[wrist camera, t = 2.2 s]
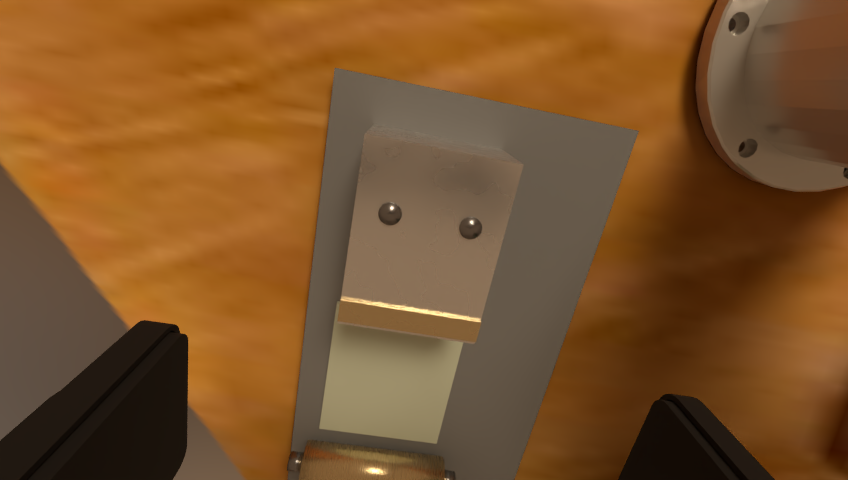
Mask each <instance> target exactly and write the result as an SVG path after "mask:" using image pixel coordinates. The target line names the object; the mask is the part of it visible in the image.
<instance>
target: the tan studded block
mask: <svg viewBox="0 0 848 480" xmlns="http://www.w3.org/2000/svg"><path fill="white" fill-rule="evenodd" d="M523 165H524V164H522V163H521V162H519V161H518V160H516V159H515V158H514V157H512V156H511V155H509V154H508V153H507V152H505V151H504V150H502V149H498V148H493V147H488V146H483V145H477V144H472V143H467V142H462V141H457V140H452V139H447V138H442V137H437V136H432V135H427V134H422V133H417V132H412V131H406V130H401V129H396V128H391V127H386V126H381V125H376V124H373V125H372V127H371V128H370V129H369V130H368V131H367V132H366V133H365V135H364V142H363V149H362V156H361V163H360V170H359V176H358V183H357V190H356V197H355V204H354V211H353V218H352V225H351V232H350V239H349V246H348V253H347V260H346V267H345V274H344V281H343V288H342V295H341V300H340V306H339V313H338V320H337V321H338V322H337V323H339V324H346V325H352V326H359V327H365V328H372V329H378V330H385V331H391V332H398V333H405V334H411V335H418V336H424V337H431V338H437V339H444V340H450V341H457V342H464V343H470V344H475V342H476V340H477V337H478V333H479V330H480V326H481V318H482V315H483V311H484V307H485V304H486V300H487V296H488V293H489V289H490V285H491V282H492V278H493V275H494V271H495V267H496V264H497V260H498V256H499V253H500V249H501V245H502V242H503V238H504V235H505V231H506V227H507V224H508V220H509V216H510V213H511V209H512V205H513V202H514V198H515V194H516V191H517V187H518V184H519V180H520V176H521V173H522V169H523Z"/></svg>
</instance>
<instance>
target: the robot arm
mask: <svg viewBox="0 0 848 480" xmlns="http://www.w3.org/2000/svg"><path fill="white" fill-rule="evenodd" d="M728 26H729V27H728ZM695 88H696V97H697V106H698V113H699V116H700V119H701V122H702V126H703V129H704V132H705V135H706V137H707V138H708V140H709V141H710V143H711V145H712V146H713V148H714V150H715V151H716V153H717V154H718V155H719V156H720V157H721V158H722V159H723V160H724V161H725V162H726V163H727V164H728V165H729V166H730V167H731V168H732V169H733V170H735V171H736V172H738V173H740V174H741V175H743V176H745V177H746V178H748V179H750V180H752V181H755V182H758V183H761V184H764V185H767V186H770V187H774V188H779V189H784V190H789V191H794V192H820V191H826V190H831V189H836V188H842V187H846V186H848V0H717V3H716V5H715V7H714V10H713V12H712V14H711V17H710V19H709V21H708V24H707V26H706V29H705V32H704V36H703V40H702V44H701V48H700V52H699V56H698V60H697V73H696V86H695ZM187 398H188V337H187V335H185V334H180V331H179V328H178V326H177V325H174V324H167V323H160V322H153V321H146V320H144V321H140V322H139V323H137V324H136V325H135V326H134V327H132V328H131V329H130V330H129V331H128V332H127V333H126V334H125V335H123V336H122V337H121V338H120V339H119V340H118V341H117V342H116V343H114V344H113V345H112V346H111V347H110V348H109V349H107V350H106V351H105V352H104V353H103V354H102V355H101V356H99V357H98V358H97V359H96V360H95V361H94V362H93V363H91V364H90V365H89V366H88V367H87V368H86V369H85V370H84V371H82V372H81V373H80V374H79V375H78V376H77V377H76V378H74V379H73V380H72V381H71V382H70V383H69V384H68V385H66V386H65V387H64V388H63V389H62V390H61V391H59V392H57V393H56V394H55V395H53V396H52V397H50V398H49V399H48V400H46V401H45V402H44V403H43V404H42V405H41V406H40V407H38V408H37V409H36V410H35V411H34V412H33V413H32V414H30V415H29V416H28V417H27V418H26V419H25V420H23V421H22V422H21V423H20V424H19V425H18V426H17V427H15V428H14V429H13V430H12V431H11V432H10V433H9V434H8V435H6V436H5V437H4V438H3V439H2V440H1V441H0V480H173V478H174V476H175V475H176V473H177V471H178V469H179V468H180V466H181V464H182V462H183V459H184V456H185V453H186V448H187ZM618 480H775V479H774V478H773V477H772V476H771V475H770V474H769V473H768V472H767V471H766V470H765V469H764V468H763V467H762V466H761V464H760V463H759V462H758V461H757V460H756V459H755V458H754V457H753V456H752V455H751V454H750V453H749V452H748V451H747V450H746V449H745V447H744V446H743V445H742V444H741V443H740V442H739V441H738V440H737V439H736V438H735V437H734V436H733V435H732V434H731V433H730V432H729V431H728V429H727V428H726V427H725V426H724V425H723V424H722V423H721V422H720V421H719V420H718V419H717V418H716V417H715V416H714V415H713V414H712V412H711V411H710V410H709V409H708V408H707V407H706V406H705V405H704V404H703V403H702V402H701V401H700V400H698V399H697V398H694V397H688V396H681V395H674V394H665V395H663V396H662V397H661V398H660V399H659V400H657V401H655V402H654V403H653V405H652V407H651V409H650V411H649V413H648V415H647V418H646V420H645V422H644V424H643V426H642V428H641V431H640V433H639V435H638V437H637V439H636V442H635V444H634V446H633V448H632V450H631V452H630V455H629V457H628V459H627V461H626V463H625V465H624V468H623V470H622V472H621V474H620V476H619V479H618Z"/></svg>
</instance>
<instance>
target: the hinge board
mask: <svg viewBox="0 0 848 480" xmlns="http://www.w3.org/2000/svg"><path fill="white" fill-rule="evenodd" d="M373 124H376V125H381V126H386V127H391V128H396V129H401V130H406V131H412V132H417V133H422V134H427V135H432V136H437V137H442V138H447V139H452V140H457V141H462V142H467V143H472V144H477V145H483V146H488V147H493V148H498V149H502V150H504V151H505V152H507V153H508V154H509V155H511V156H512V157H514V158H515V159H516V160H518V161H519V162H521V163H522V164H524V165H523V169H522V173H521V176H520V180H519V184H518V187H517V191H516V194H515V198H514V202H513V205H512V209H511V213H510V216H509V220H508V224H507V227H506V231H505V235H504V238H503V242H502V245H501V249H500V253H499V256H498V260H497V264H496V267H495V271H494V275H493V278H492V282H491V285H490V289H489V293H488V296H487V300H486V304H485V307H484V311H483V315H482V318H481V326H480V330H479V333H478V337H477V340H476V342H475V344H470V343H464V342H457V341H450V340H444V339H437V338H431V337H424V336H418V335H411V334H405V333H398V332H391V331H385V330H378V329H372V328H365V327H359V326H352V325H346V324H339V323H337V322H338V321H337V320H338V313H339V306H340V300H341V295H342V288H343V281H344V274H345V267H346V260H347V253H348V246H349V239H350V232H351V225H352V218H353V211H354V204H355V197H356V190H357V183H358V176H359V170H360V163H361V156H362V149H363V142H364V135H365V133H366V132H367V131H368V130H369V129H370V128H371V127H372V125H373ZM637 134H638V131H636V130H631V129H627V128H622V127H617V126H612V125H607V124H603V123H598V122H593V121H588V120H583V119H579V118H574V117H569V116H564V115H559V114H554V113H550V112H545V111H540V110H535V109H530V108H526V107H521V106H516V105H511V104H506V103H502V102H497V101H492V100H487V99H482V98H477V97H473V96H468V95H463V94H458V93H453V92H449V91H444V90H439V89H434V88H429V87H425V86H420V85H415V84H410V83H405V82H401V81H396V80H391V79H386V78H381V77H376V76H372V75H367V74H362V73H357V72H352V71H348V70H343V69H338V68H335V71H334V80H333V89H332V97H331V106H330V115H329V123H328V132H327V141H326V150H325V158H324V167H323V176H322V184H321V193H320V202H319V211H318V219H317V228H316V237H315V245H314V254H313V263H312V272H311V280H310V289H309V298H308V306H307V315H306V324H305V332H304V341H303V350H302V359H301V367H300V376H299V385H298V393H297V402H296V411H295V420H294V428H293V437H292V446H291V451H296V452H305V448H306V444H307V442H308V440H317V441H325V442H333V443H341V444H349V445H356V446H364V447H372V448H380V449H388V450H396V451H404V452H412V453H420V454H427V455H435V456H442V457H443V458H444V464H445V470H449V471H455V477H456V479H455V480H514V479H515V476H516V473H517V470H518V467H519V465H520V462H521V459H522V456H523V453H524V451H525V448H526V445H527V442H528V439H529V437H530V434H531V431H532V428H533V425H534V423H535V420H536V417H537V414H538V411H539V409H540V406H541V403H542V400H543V397H544V395H545V392H546V389H547V386H548V383H549V381H550V378H551V375H552V372H553V369H554V367H555V364H556V361H557V358H558V355H559V353H560V350H561V347H562V344H563V341H564V339H565V336H566V333H567V330H568V327H569V325H570V322H571V319H572V316H573V313H574V311H575V308H576V305H577V302H578V299H579V297H580V294H581V291H582V288H583V285H584V283H585V280H586V277H587V274H588V271H589V269H590V266H591V263H592V260H593V257H594V255H595V252H596V249H597V246H598V243H599V241H600V238H601V235H602V232H603V229H604V227H605V224H606V221H607V218H608V215H609V213H610V210H611V207H612V204H613V201H614V199H615V196H616V193H617V190H618V187H619V185H620V182H621V179H622V176H623V173H624V171H625V168H626V165H627V162H628V159H629V157H630V154H631V151H632V148H633V145H634V143H635V140H636V137H637ZM299 475H300V472H295V471H289V472H288V480H299Z"/></svg>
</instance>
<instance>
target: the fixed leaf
mask: <svg viewBox="0 0 848 480" xmlns="http://www.w3.org/2000/svg"><path fill="white" fill-rule="evenodd" d="M287 471H295V472H300V475H299V480H455V479H456V477H455V471H449V470H445V464H444V458H443V457H442V456H435V455H427V454H420V453H412V452H404V451H396V450H388V449H380V448H372V447H364V446H356V445H349V444H341V443H333V442H325V441H317V440H308V442H307V444H306V448H305V452H296V451H291V454H290V457H289V461H288V467H287Z"/></svg>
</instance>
